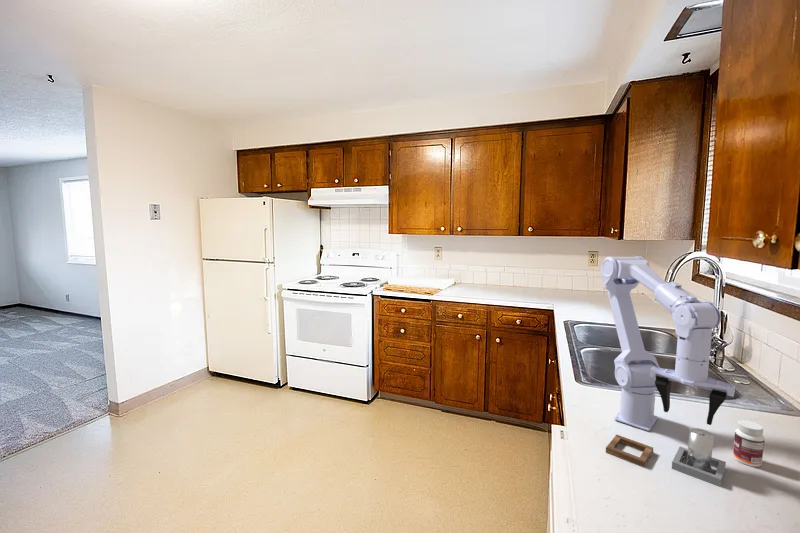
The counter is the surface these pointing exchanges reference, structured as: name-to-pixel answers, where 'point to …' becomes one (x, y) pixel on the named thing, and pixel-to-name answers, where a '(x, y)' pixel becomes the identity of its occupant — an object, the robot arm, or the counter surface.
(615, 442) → the socket frame
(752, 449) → the pill bottle
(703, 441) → the grey thick round cylinder
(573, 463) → the counter surface
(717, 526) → the counter surface
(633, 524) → the counter surface
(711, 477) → the frame
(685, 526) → the counter surface
